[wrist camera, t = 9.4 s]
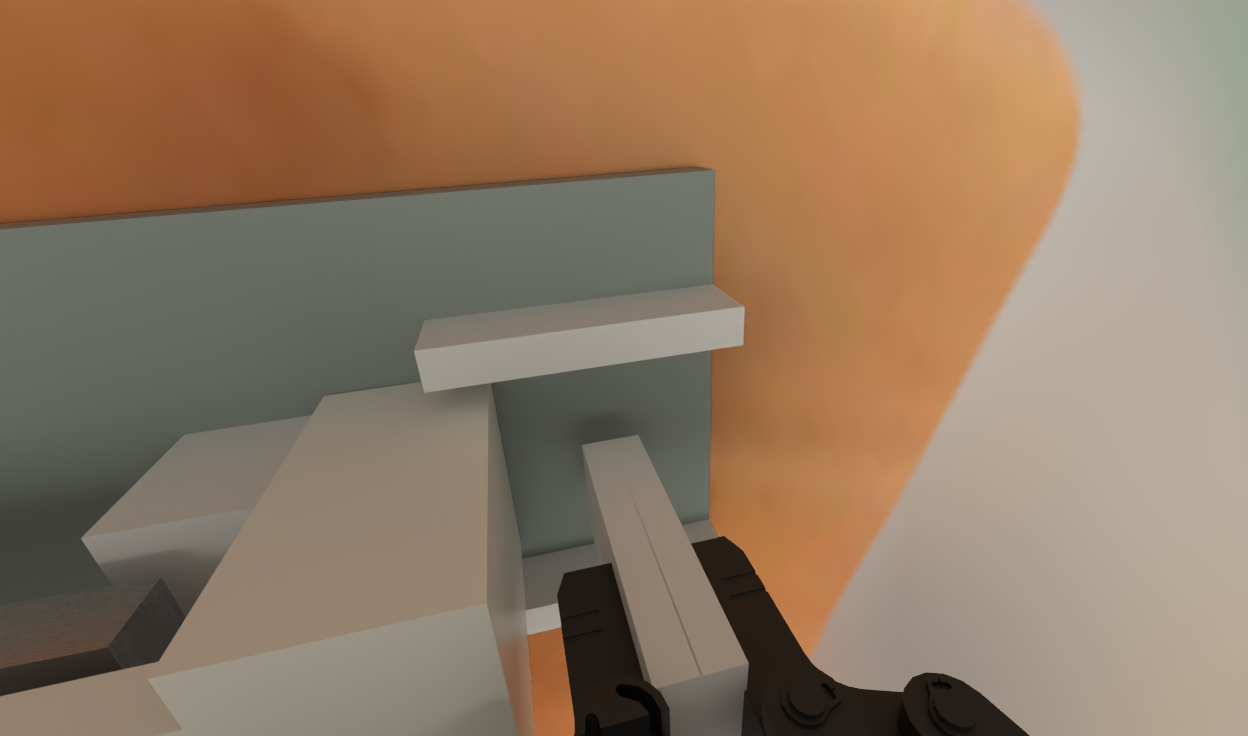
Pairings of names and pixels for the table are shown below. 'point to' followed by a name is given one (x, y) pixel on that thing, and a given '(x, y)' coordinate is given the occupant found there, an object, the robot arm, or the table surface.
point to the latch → (344, 595)
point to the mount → (345, 360)
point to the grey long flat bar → (85, 633)
